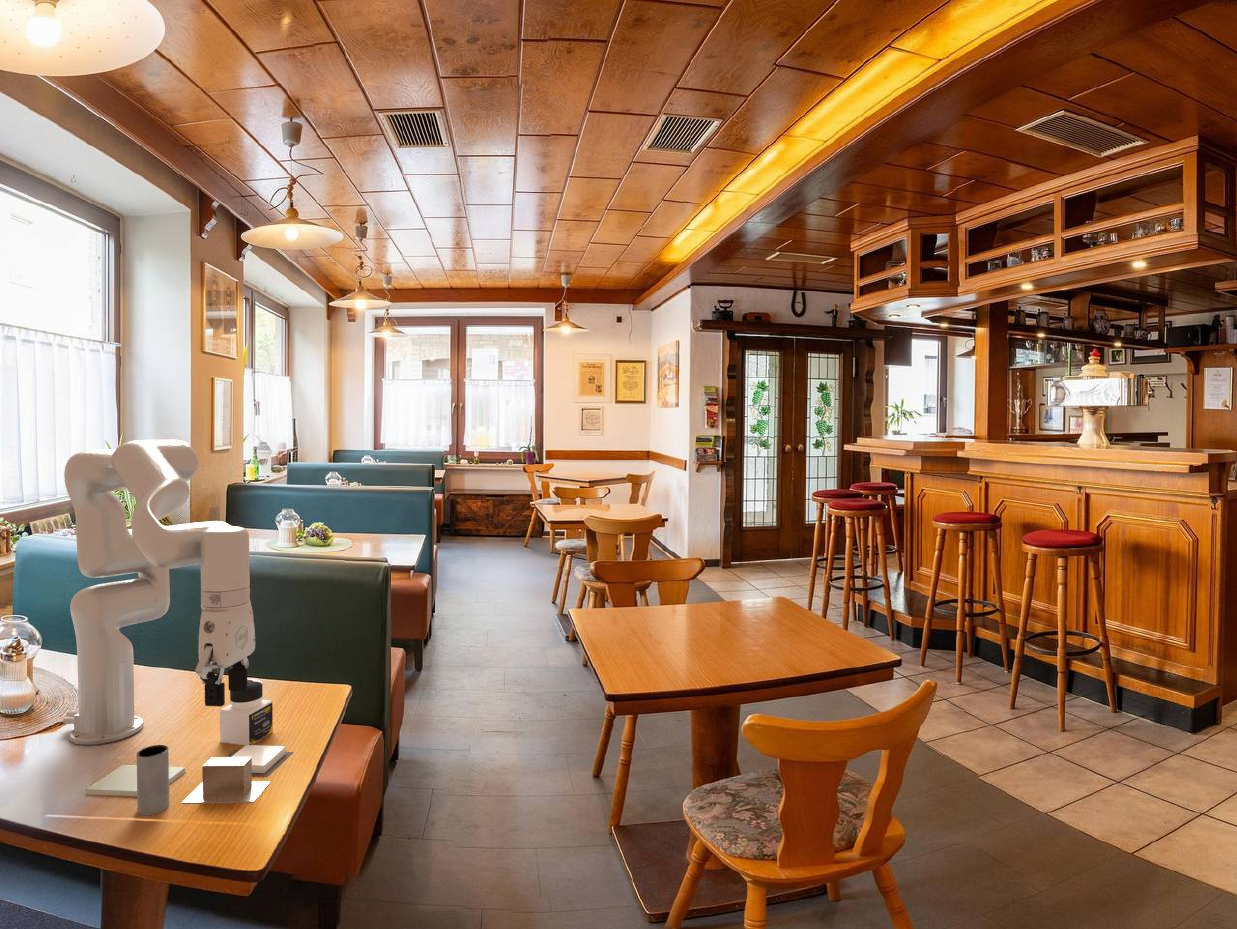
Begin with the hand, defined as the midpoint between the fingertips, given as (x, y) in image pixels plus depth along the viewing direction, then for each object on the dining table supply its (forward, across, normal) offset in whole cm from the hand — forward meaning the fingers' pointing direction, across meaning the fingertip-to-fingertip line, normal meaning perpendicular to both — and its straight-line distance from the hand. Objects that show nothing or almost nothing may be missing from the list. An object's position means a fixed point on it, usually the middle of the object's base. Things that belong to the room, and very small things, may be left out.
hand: (226, 697), depth 126 cm
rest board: (+18, +2, +18) cm, 25 cm away
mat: (+18, +11, +2) cm, 21 cm away
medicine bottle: (+18, +22, +9) cm, 30 cm away
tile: (+17, +11, +5) cm, 21 cm away
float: (+18, 0, 0) cm, 18 cm away
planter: (+18, -6, +9) cm, 21 cm away
